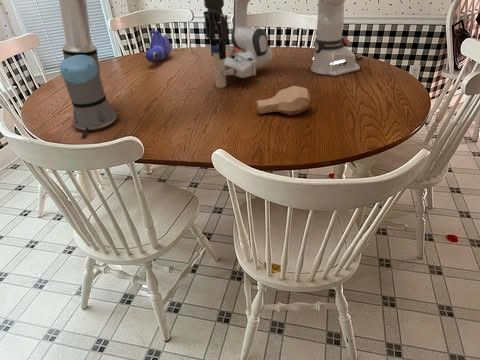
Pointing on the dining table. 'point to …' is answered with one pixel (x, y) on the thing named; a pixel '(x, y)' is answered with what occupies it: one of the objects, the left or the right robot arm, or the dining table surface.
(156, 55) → the toy
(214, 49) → the lid
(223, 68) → the jar
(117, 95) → the dining table surface
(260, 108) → the squash
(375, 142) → the dining table surface
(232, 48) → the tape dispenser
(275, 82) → the dining table surface
